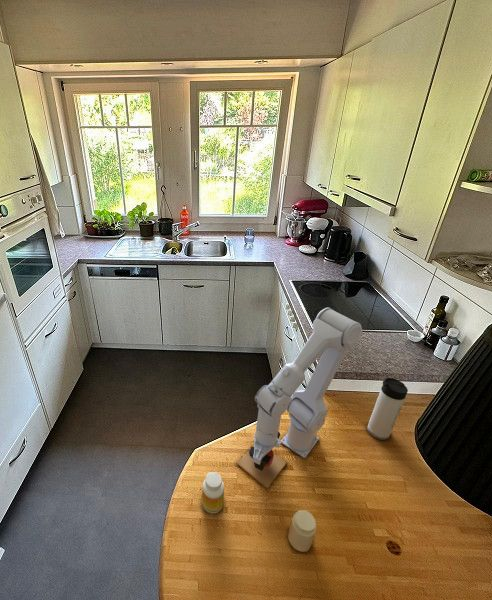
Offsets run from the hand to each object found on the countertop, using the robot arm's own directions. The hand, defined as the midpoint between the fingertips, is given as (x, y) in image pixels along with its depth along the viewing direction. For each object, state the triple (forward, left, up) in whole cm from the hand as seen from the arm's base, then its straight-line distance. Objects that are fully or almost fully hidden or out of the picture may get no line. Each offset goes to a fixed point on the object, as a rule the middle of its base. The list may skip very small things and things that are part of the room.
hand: (262, 459), depth 91 cm
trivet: (0, 0, -2) cm, 2 cm away
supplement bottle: (+18, -3, -2) cm, 18 cm away
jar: (+10, +17, -2) cm, 20 cm away
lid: (0, 0, +2) cm, 2 cm away
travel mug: (-35, +20, -2) cm, 40 cm away
